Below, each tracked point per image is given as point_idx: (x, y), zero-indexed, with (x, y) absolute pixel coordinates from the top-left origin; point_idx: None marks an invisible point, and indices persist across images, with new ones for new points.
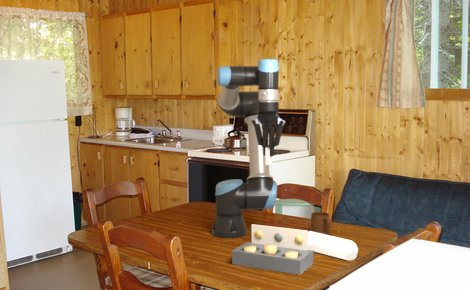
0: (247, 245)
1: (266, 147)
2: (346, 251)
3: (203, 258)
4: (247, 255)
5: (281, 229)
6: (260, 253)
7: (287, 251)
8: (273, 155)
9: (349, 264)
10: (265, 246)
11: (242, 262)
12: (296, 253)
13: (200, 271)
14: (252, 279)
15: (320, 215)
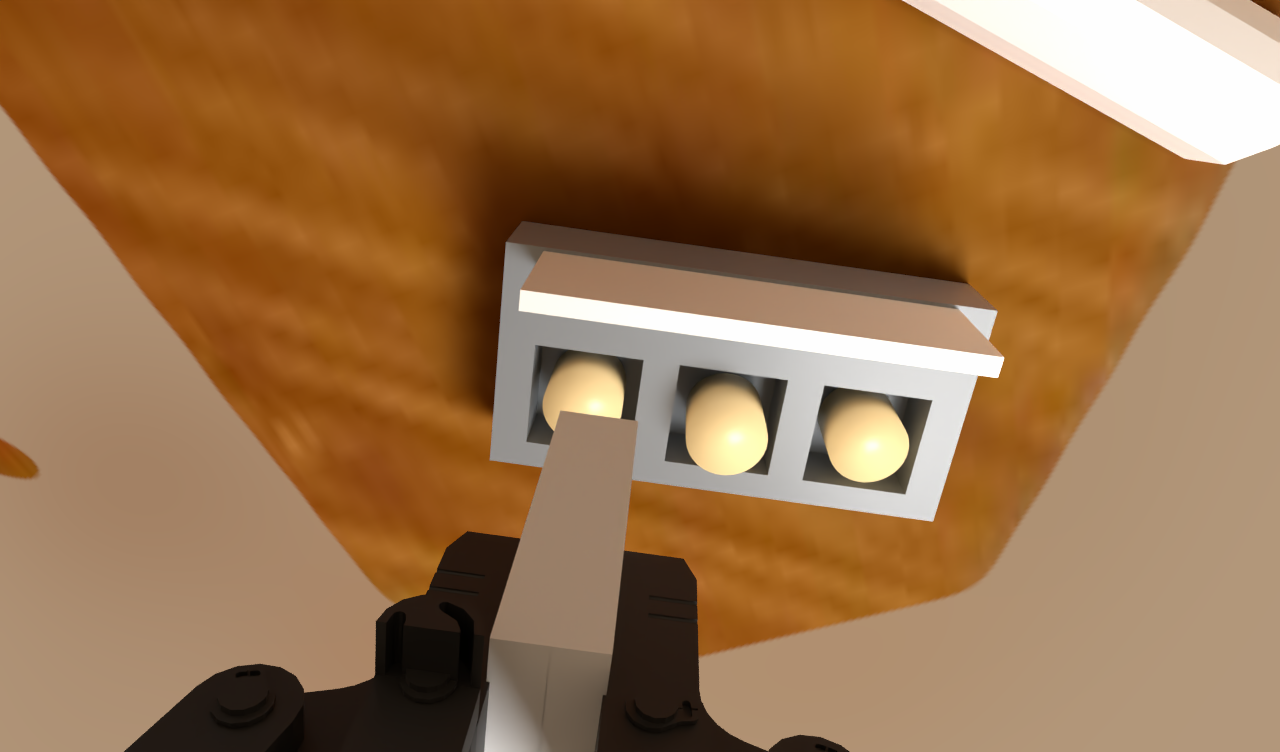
0: (537, 332)
1: (485, 749)
2: (1223, 150)
3: (304, 375)
4: None
5: (783, 345)
6: (674, 464)
7: (839, 427)
8: (685, 579)
9: (1201, 221)
10: (699, 458)
11: None
12: (901, 450)
13: (404, 561)
14: None
15: None
